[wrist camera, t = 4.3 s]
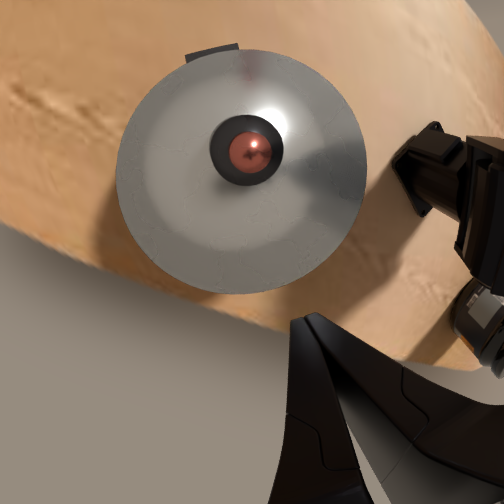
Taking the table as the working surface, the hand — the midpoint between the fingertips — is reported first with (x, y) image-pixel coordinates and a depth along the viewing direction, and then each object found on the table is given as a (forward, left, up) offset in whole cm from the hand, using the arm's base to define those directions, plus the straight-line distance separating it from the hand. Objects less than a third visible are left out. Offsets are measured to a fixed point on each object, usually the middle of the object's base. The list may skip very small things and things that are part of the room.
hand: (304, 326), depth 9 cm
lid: (+3, -2, -7) cm, 7 cm away
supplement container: (-33, -14, -13) cm, 38 cm away
